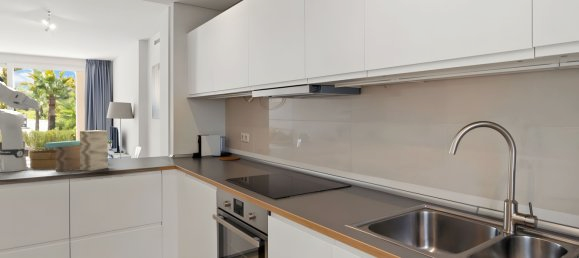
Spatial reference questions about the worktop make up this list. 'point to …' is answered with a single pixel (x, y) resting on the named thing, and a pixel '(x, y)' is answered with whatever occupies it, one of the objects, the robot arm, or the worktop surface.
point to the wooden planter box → (42, 159)
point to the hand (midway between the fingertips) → (33, 110)
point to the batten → (62, 144)
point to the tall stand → (93, 150)
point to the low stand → (67, 158)
